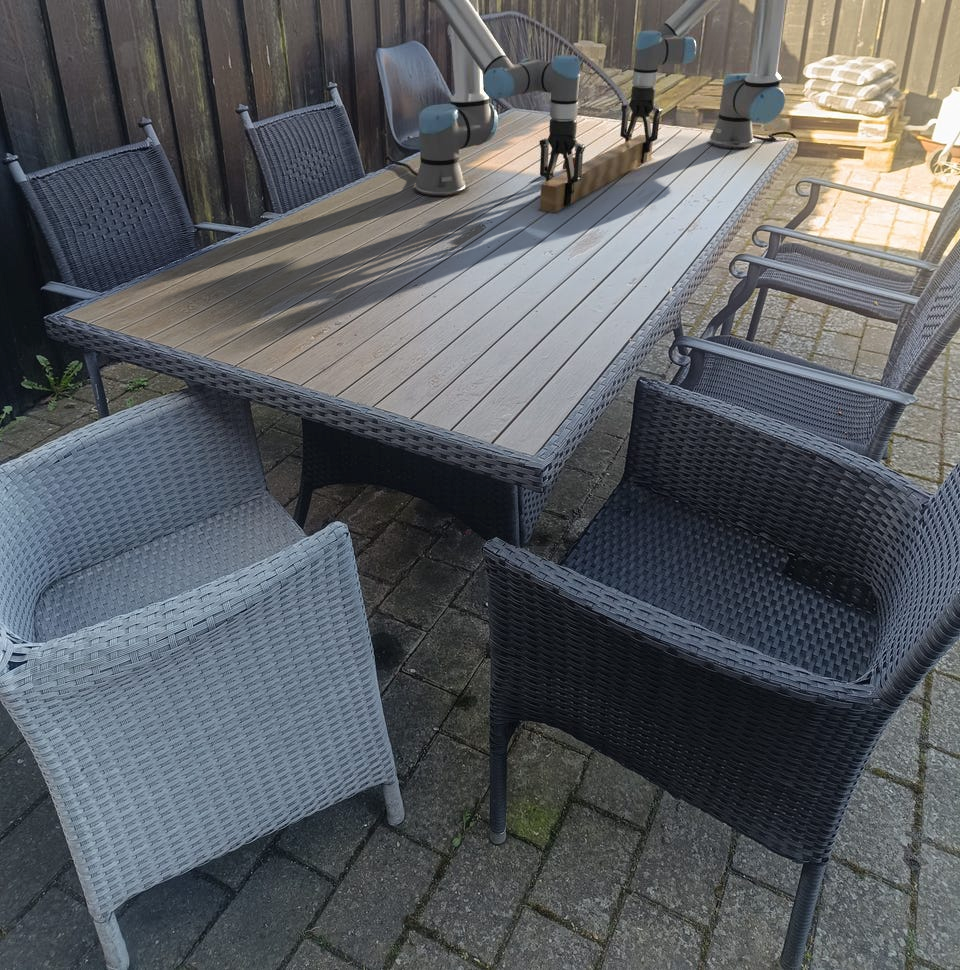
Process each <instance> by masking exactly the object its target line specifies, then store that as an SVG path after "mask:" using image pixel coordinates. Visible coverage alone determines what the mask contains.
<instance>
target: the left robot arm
mask: <svg viewBox="0 0 960 970" xmlns="http://www.w3.org/2000/svg"><path fill="white" fill-rule="evenodd" d="M427 1H428V2H430V3H431V4H435V6H436V7H437V9H438V10H439V11H440V13H441V14H442V15H443V17H444V19H445V20H446V21H447V23H448V24H449V31H450V44H451V57H452V58H451V59H452V70H453V72H452V73H453V83H454V84H453V85H454V94H453V96H452V97H451V98H450V103H440V104H432V105H429V106H427V107H424V109H422V110H421V111H420V112H419V114H418V115H419V116H418V126H417V127H418V136H419V138H418V139H419V157H420V158H419V159H420V161H419V162H420V164H419V168H418V172H417V171H416V170H414V169H413V168H412V167H411V166H410V164H407V163H405V162H401V161H397V160H394V159H393V158H392V157H391V156H390V155H387V156H386V157H385V160H386V161H389V162H390V163H392V164H394V165H396V166H401V167H404V168H405V167H406V168H407V169H408V170H409V171H410V173H412V175H414V176H416V180H415V192H417V193H418V194H420V195H424V196H430V197H450V196H455V195H459V194H461V193H463V192H464V191H466V181H465V179H464V176H463V172H462V169H461V165H460V150H463V149H467V148H471V147H474V146H481V145H483V144H484V143H487V142H489V141H491V140H492V139H493V137H494V136H495V135H496V133H497V129H498V125H499V117H498V112H497V110H496V109H495V106H494V105H493V104H492V103H491V102H490V99H493V100H501V99H508V98H510V97H514V96H518V95H523V94H528V93H533V92H543V93H547V94H550V106H549V107H550V108H549V117H550V119H549V128H548V129H549V130H548V132H549V135H548V137H547V138H543V139H540V140H539V142H538V143H539V147H540V162H539V163H540V164H539V175H540V177H543V178H545V182H547V181H549V180H551V179H553V178H554V177H555V175H554V173H555V171H556V166H557V163H558V160H559V159H558V158H559V156H560V155H562V158H563V159H564V161H565V166H566V169H565V172H567V179H568V182H567V183H565V198H564V206H566V207H568V206H570V205H571V204H572V203H571V194H573V193H574V184H575V182H577V181H579V180H581V175H582V164H583V157H584V152H585V149H586V144H584V143H580V142H578V141H577V128H578V127H577V126H578V120H577V118H578V111H579V109H578V108H579V90H580V80H581V61H580V58H579V57H578V56H576V55H572V54H571V55H570V54H569V55H568V54H560V55H555V56H554V57H552V60H551V61H552V62H551V61H546V60H540V59H536V58H523V59H521V60H520V61H519V62H518V63H515V64H513V63H512V61H511V60H510V59H509V58H508V56H507V55H506V53H505V52H504V50H503V48H502V47H501V45H500V44H499V43H498V42H497V40H496V39H495V37H494V36H493V34H492V33H491V31H490V30H489V28H488V27H487V25H486V24H485V22H484V21H483V20H482V18H481V17H480V8H479V7H480V6H479V0H427ZM549 146H550V148H551V150H550V149H549ZM573 149H574V151H575V153H574V152H573ZM549 151H550V157H549ZM573 154H574V155H573ZM572 157H574V158H575V165H573V159H572Z"/></svg>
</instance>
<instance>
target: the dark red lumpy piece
mask: <svg viewBox="0 0 960 970" xmlns="http://www.w3.org/2000/svg"><path fill="white" fill-rule="evenodd" d="M572 159H573V165H575V156H572ZM562 170H566V166H565V160H564V161H563V164H562Z"/></svg>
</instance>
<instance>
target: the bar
mask: <svg viewBox="0 0 960 970" xmlns="http://www.w3.org/2000/svg"><path fill="white" fill-rule="evenodd" d="M645 141H646V139H645V134H639V135H637V136H635V137H632V138H631V140H629V141H627V142H625V141H624V142H622V143H620V144H619V145H616V146H615V147H612V148H610V149H609V150H606V151H605V152H603V153H601V154H599V155H597V156H595V157H593V158H591V159H589V160H586V161H585V162H582V175H581V180H579V181H577V182H575V184H574V193H573V194H571V204H573V203H575V202H577V201H578V200H581V199H582V198H584V197H586V196H587V195H589V194H591V193H592V192H594V191H596V190H598V189H600V188H602V187H603V186H605V185H607V184H609V183H610V182H613V181H614V180H616V179H618V178H619V177H621V176H623V175H625V174H627V173H628V172H630V171H633V170H634V169H635V168H637V167H639V166H641V165H643V164H644V163H641V160H642V150H643V143H644V142H645ZM653 144H654V141H652V142H651V148H650V152H648V153H647V162H649V161H650V160H651V159H652V153H653ZM552 178H553V179H551V180H549V181H547V182H546V181H545V182H543V183H541V184H540V198H539V199H540V204H539V211H544V212H548V213H553V214H556V213H557V212H558V211H561V210H563V209H564V208H566V207H567V206H564V198H565V183H567V182H568V179H567V172H566V171H565V172H563V173H561V174H559V175H557V176H554V177H552Z"/></svg>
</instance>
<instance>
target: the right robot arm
mask: <svg viewBox="0 0 960 970" xmlns="http://www.w3.org/2000/svg"><path fill="white" fill-rule="evenodd" d="M721 1H722V0H686V1H685V2H684V3H683V4H682V5H681V6H680V7H679V8H677V10H676V11H675V12H673V14H672V15H670V17H668V18H667V20H666V21H665V22H664V23H663V24H661V25H660V26H659V27H658V28H657V29H651V30H640V31H639V32H638V33H637V37H636V41H635V47H634V49H635V51H634V63H633V64H634V65H633V74H632V86H631V92H630V93H631V94H630V101H629V103H624V104H622V105H621V113H622V114H621V125H620V137H621V138H623V139H624V143H625V142H627V141H629V140H631V139H633V133H634V130H635V127H636V124H637V121H638V119H639V118H641V119H642V122H643V129H644V135H645V139H646V141H645V142H644V143H643V150H642V160H641V163H643V164H645V163H646V162H648V161H647V153H648V152H650V148H651V142H652V141H653V142H655V141H657V140H658V136H659V127H660V118H661V114H662V112H663V108H662V107H660V108H659V107H657V106H656V104H655V97H656V89H657V88H656V85H657V77H658V71H659V70H658V69H659V65H660V66H661V65H684V64H690V63H691V62H693V60H694V59H695V57H696V53H697V42H696V40H695V38H694V37H692V36H686V35H687V34H688V33H689V32H690V31H691V30H693V28H694V27H695V26H696V25H697V24H698V23H699V22H700V21H701V20H703V18H705V16H707V14H709V13H710V11H712V10H713V9H714V8H715V7H716V6H717V5H718V4H719V3H721ZM786 3H787V0H757V2H756V12H755V22H754V33H753V41H752V50H751V60H750V70H749V73H730V74H727V75H725V77H724V80H723V84H722V90H721V98H720V104H719V110H718V117H717V121H716V123H715V125H714V128H713V130H712V133H711V134H710V136H709V144H710V145H712V146H714V147H718V148H722V149H723V148H724V149H730V150H731V149H732V150H739V149H740V150H741V149H748V148H751V147H753V145H754V140H755V139H756V140H759V141H764V142H775V141H777V137H775V136H779V135H789V136H791V137H793V139H797V136H796V134H794V133H793V132H790V131H777V132H774V133H769V134H768V138H767V137H761V136H757V135H754V134H753V123H758V124H761V125H762V124H763V125H764V124H768V123H771V122H773V121H774V120H775V119H777V118H778V116H780V114H781V113H782V111H783V109H784V107H785V105H786V94H785V92H784V91H783V89H782V88H781V84H782V77H781V74H779V72H778V68H779V62H780V61H779V60H780V51H781V44H782V37H783V27H784V19H785V11H786ZM630 110H631V112H632V113H631V116H630V121H629V114H630ZM652 112H653V117H652V126H651V113H652ZM752 122H753V123H752Z"/></svg>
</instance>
